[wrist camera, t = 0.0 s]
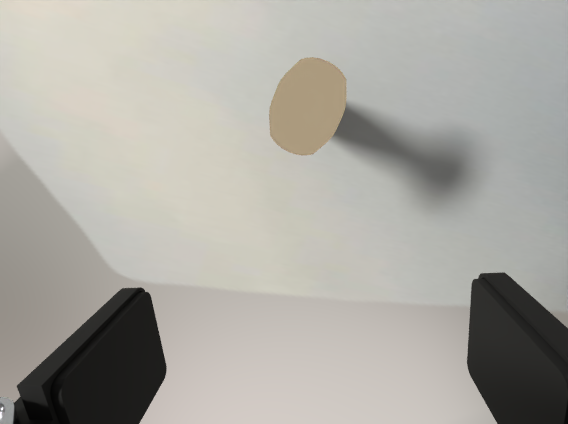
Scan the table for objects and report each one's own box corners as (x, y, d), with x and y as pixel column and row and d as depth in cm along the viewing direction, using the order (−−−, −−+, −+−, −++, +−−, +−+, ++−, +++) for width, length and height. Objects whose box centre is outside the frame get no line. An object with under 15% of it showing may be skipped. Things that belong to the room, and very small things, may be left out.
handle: (344, 87, 37) (360, 76, 23) (319, 143, 39) (320, 165, 25) (302, 69, 37) (293, 46, 23) (279, 126, 39) (257, 138, 25)
